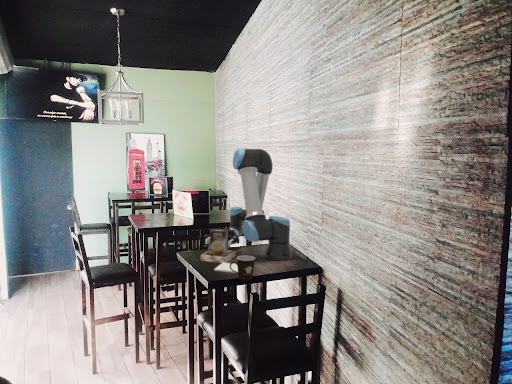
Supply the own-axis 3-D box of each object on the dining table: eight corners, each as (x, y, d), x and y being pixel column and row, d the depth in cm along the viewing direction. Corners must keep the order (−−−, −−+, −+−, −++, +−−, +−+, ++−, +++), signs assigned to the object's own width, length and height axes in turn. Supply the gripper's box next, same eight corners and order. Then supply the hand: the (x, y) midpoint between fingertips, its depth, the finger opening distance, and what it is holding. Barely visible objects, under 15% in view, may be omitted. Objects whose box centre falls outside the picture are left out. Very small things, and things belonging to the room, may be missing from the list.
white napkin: (248, 266, 199) (248, 265, 199) (240, 273, 188) (240, 271, 188) (222, 263, 203) (222, 262, 203) (214, 270, 192) (214, 268, 192)
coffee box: (209, 259, 211) (209, 230, 209) (211, 256, 217) (211, 228, 215) (225, 260, 210) (226, 231, 208) (227, 257, 216) (228, 229, 214)
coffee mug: (254, 276, 184) (255, 255, 183) (254, 282, 176) (254, 260, 175) (230, 275, 185) (231, 255, 184) (229, 281, 176) (229, 260, 175)
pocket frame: (235, 256, 218) (235, 251, 218) (226, 263, 204) (226, 257, 204) (211, 253, 223) (211, 248, 222) (200, 260, 208) (200, 255, 208)
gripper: (250, 242, 229) (238, 251, 209) (211, 239, 236) (196, 247, 216) (250, 230, 228) (238, 238, 208) (211, 227, 235) (196, 234, 215)
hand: (217, 242), depth 212 cm, fingers open, 13 cm apart
